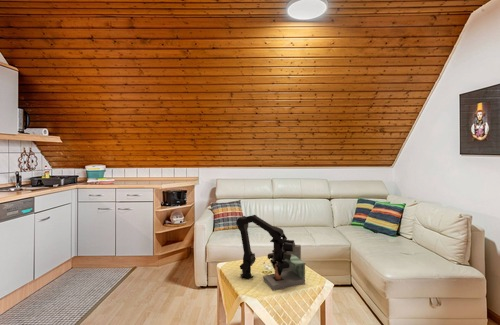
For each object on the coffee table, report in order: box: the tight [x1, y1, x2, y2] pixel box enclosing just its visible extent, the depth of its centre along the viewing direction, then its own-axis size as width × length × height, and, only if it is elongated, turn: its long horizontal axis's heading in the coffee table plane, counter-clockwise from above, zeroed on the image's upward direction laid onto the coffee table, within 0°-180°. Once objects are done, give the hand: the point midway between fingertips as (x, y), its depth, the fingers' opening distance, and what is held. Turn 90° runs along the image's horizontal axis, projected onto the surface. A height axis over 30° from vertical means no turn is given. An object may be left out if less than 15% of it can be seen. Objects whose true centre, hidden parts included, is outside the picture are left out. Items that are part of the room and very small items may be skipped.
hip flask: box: [282, 244, 302, 272], centre depth 193 cm, size 16×4×20 cm, turn 105°
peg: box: [274, 263, 281, 281], centre depth 176 cm, size 4×4×10 cm
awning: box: [284, 254, 306, 280], centre depth 180 cm, size 15×7×10 cm, turn 22°
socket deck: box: [262, 270, 306, 292], centre depth 178 cm, size 14×22×3 cm, turn 112°
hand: (278, 273), depth 176 cm, fingers closed on peg, 4 cm apart
